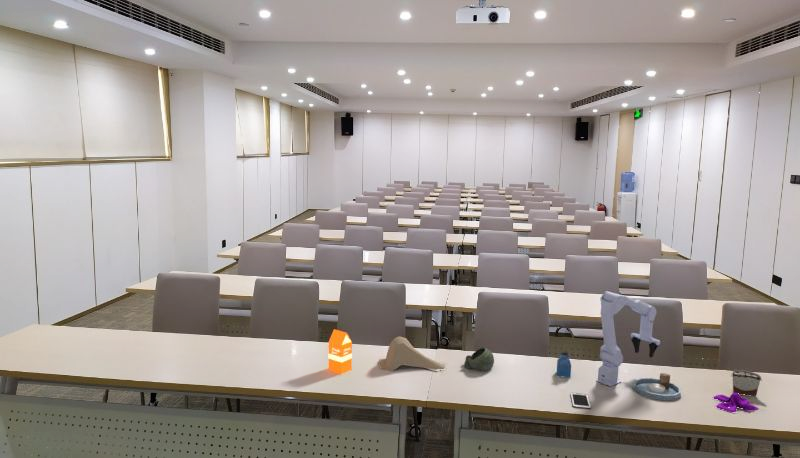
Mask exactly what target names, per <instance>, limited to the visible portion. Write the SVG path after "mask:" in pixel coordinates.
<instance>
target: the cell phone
mask: <svg viewBox="0 0 800 458" xmlns="http://www.w3.org/2000/svg"><path fill="white" fill-rule="evenodd" d="M570 394H571V395H570V399H571V400H572V401H571V406H572V405H573V406H572V408H574V407H578V408H577V409H583V408H586V410H592V406H591V400H590V397H589V395H588V394H587V393H580V392H579V393H578V392H570Z"/></svg>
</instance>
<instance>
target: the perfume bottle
mask: <svg viewBox="0 0 800 458" xmlns="http://www.w3.org/2000/svg"><path fill="white" fill-rule="evenodd" d="M556 360H557V361H556V375H557V377H558V376H564V377H563V378H568V377H570V378H572V377H571V373H572V363H571V360H570V358H569V351H568V350H561V353H560V356H559V357H558V359H556Z"/></svg>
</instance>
